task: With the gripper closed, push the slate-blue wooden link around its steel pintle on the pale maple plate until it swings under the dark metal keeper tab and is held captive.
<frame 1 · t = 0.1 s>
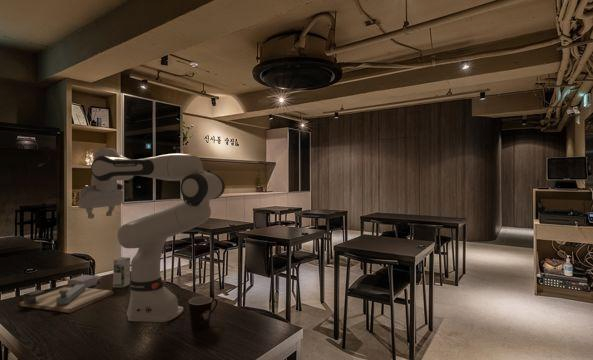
hand: (100, 217, 145), 39 cm above the table, tool pointing down, fingers open, 8 cm apart
coffee mug: (204, 326, 127), on the table
charger: (87, 285, 173), on the table
syrup box: (121, 286, 172), on the table
pintle plate: (63, 307, 143), on the table
link: (71, 294, 150), point 3 cm above the table, hinge at -65.0°
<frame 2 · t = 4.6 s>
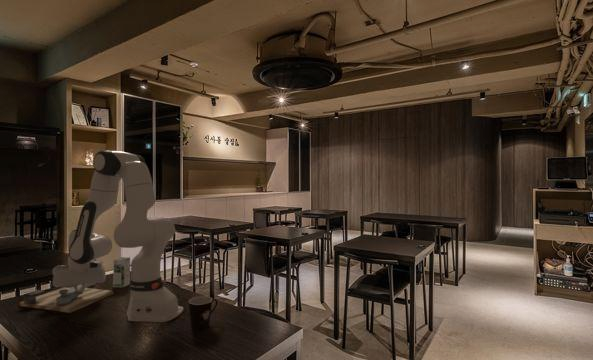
hand: (79, 294, 152), 3 cm above the table, tool pointing down, fingers closed
link: (71, 294, 150), point 3 cm above the table, hinge at -63.9°, touching gripper
everything else where it was.
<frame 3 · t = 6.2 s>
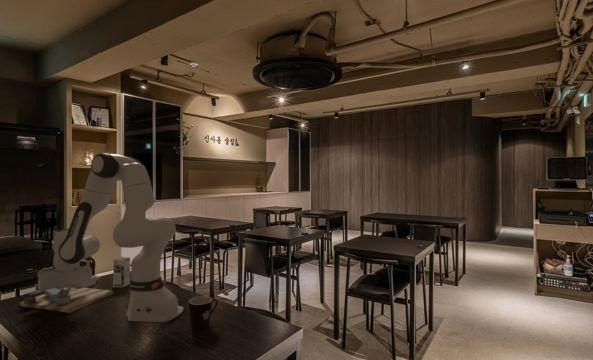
hand: (65, 294, 151), 3 cm above the table, tool pointing down, fingers closed
link: (57, 296, 148), point 3 cm above the table, hinge at -24.0°, touching gripper
everything else where it was.
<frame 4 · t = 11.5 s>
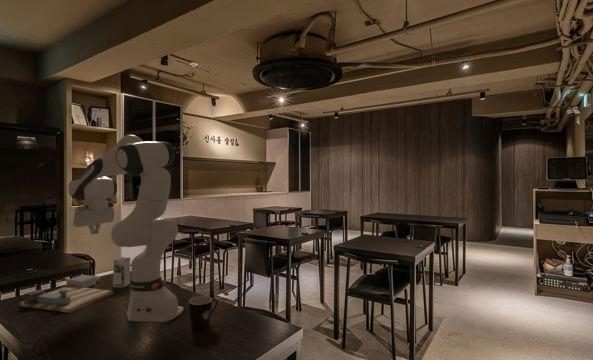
hand: (94, 233, 157), 29 cm above the table, tool pointing down, fingers closed
link: (49, 298, 145), point 3 cm above the table, hinge at 0.7°
everything else where it was.
at the end: link at +1° (first picture: -65°); charger moved 0.7 cm from its start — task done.
